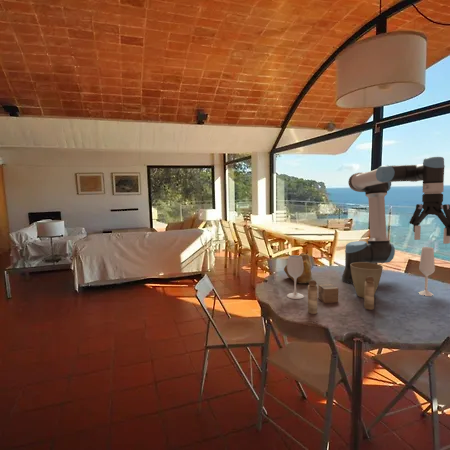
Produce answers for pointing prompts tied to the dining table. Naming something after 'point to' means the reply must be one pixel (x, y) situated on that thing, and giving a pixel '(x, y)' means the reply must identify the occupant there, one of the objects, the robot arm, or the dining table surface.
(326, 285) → the tan wooden cube
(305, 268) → the rough brown rock
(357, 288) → the plant pot
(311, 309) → the oak mill
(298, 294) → the wineglass
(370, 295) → the oak mill
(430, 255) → the champagne flute
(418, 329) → the dining table surface
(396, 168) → the robot arm
